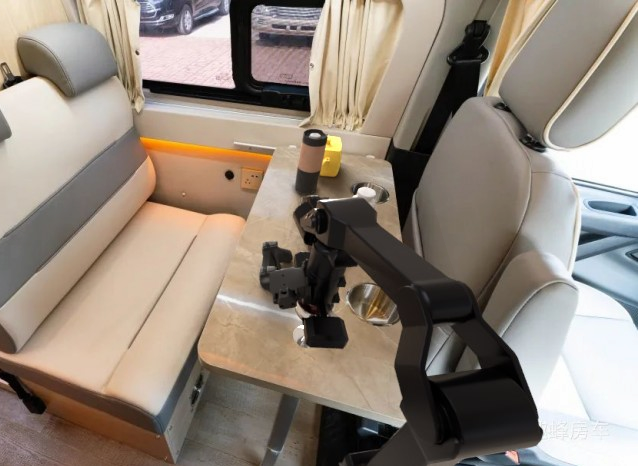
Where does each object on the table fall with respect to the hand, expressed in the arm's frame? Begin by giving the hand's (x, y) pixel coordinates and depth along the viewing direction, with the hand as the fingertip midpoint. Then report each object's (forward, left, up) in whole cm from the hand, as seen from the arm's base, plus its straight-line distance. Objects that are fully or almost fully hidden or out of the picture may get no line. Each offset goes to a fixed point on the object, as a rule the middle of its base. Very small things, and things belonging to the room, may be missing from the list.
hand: (309, 322), depth 62 cm
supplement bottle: (+41, -21, -11) cm, 47 cm away
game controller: (+20, +4, -11) cm, 23 cm away
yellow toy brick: (+75, -17, -11) cm, 77 cm away
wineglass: (0, 0, -5) cm, 5 cm away
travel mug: (+61, -9, -11) cm, 62 cm away
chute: (+34, -9, -10) cm, 37 cm away
